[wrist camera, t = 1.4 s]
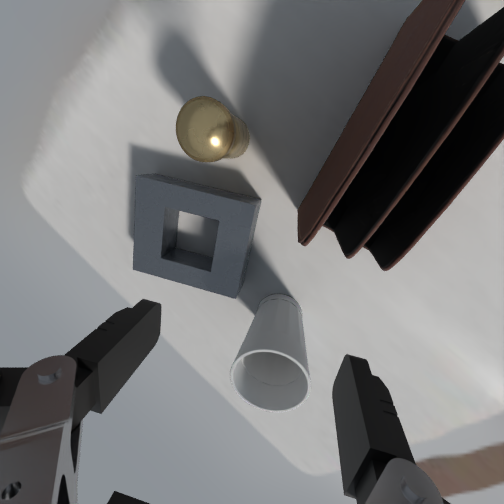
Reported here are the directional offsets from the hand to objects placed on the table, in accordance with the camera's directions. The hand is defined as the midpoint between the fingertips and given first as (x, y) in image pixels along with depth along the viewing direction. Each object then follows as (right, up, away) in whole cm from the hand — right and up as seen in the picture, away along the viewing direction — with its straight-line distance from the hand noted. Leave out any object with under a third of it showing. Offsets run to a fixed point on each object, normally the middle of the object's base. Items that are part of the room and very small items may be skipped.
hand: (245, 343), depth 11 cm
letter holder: (+14, +15, +17) cm, 26 cm away
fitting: (-2, +17, +19) cm, 25 cm away
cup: (+4, -5, +26) cm, 26 cm away
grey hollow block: (-7, +7, +23) cm, 25 cm away
